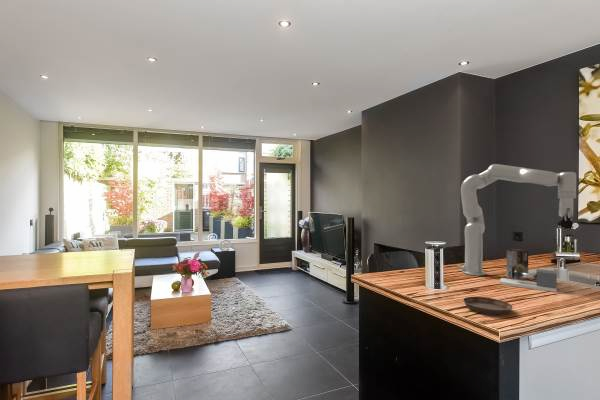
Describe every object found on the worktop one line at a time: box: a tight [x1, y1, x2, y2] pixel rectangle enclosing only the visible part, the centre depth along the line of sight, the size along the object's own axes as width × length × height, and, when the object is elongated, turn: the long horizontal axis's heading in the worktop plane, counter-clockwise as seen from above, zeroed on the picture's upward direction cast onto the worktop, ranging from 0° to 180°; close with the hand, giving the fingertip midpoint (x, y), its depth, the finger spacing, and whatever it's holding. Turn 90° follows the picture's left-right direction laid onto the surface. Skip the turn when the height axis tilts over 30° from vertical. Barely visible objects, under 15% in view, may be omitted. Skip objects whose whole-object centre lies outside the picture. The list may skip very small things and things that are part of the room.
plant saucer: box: [462, 296, 513, 316], centre depth 136 cm, size 18×18×3 cm
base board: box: [499, 277, 558, 293], centre depth 173 cm, size 24×10×2 cm, turn 55°
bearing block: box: [535, 268, 558, 290], centre depth 168 cm, size 8×8×7 cm
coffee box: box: [506, 248, 529, 280], centre depth 191 cm, size 9×6×16 cm
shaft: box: [514, 269, 537, 280], centre depth 173 cm, size 12×5×5 cm, turn 55°
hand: (566, 227), depth 175 cm, fingers open, 9 cm apart
